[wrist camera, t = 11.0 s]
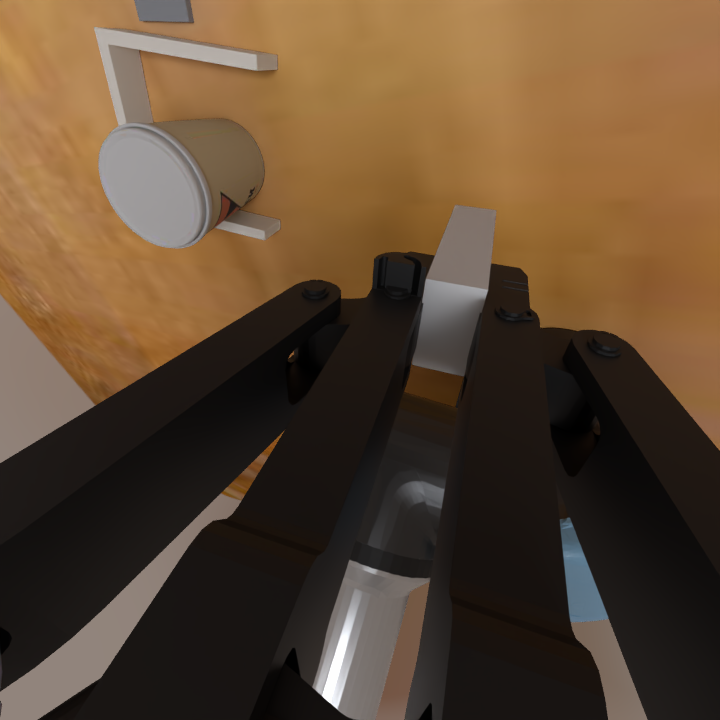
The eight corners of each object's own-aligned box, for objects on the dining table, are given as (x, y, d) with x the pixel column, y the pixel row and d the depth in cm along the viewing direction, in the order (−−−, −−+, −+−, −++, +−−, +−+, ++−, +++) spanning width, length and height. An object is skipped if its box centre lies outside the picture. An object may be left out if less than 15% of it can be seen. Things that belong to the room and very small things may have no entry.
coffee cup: (223, 222, 43) (151, 265, 34) (171, 134, 39) (71, 157, 30) (288, 190, 39) (225, 230, 30) (238, 88, 35) (146, 98, 26)
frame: (280, 229, 42) (264, 240, 39) (161, 199, 44) (139, 208, 42) (277, 54, 32) (256, 54, 30) (125, 29, 35) (93, 26, 32)
